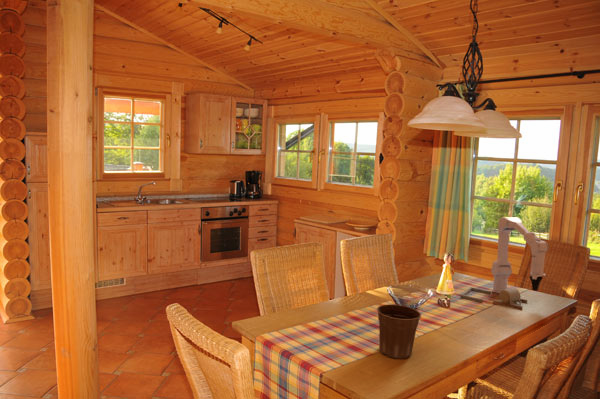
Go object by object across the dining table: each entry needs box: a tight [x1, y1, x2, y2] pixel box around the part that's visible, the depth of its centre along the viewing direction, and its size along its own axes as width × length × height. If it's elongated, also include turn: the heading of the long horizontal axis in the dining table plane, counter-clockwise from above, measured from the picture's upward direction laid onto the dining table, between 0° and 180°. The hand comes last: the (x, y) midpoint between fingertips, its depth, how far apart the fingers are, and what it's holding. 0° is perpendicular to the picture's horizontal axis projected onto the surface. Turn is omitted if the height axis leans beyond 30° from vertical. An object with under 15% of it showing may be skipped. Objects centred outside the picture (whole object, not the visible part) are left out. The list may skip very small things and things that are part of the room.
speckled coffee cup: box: [498, 287, 522, 306], centre depth 236 cm, size 11×8×8 cm
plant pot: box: [376, 303, 422, 360], centre depth 170 cm, size 16×16×16 cm
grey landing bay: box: [460, 286, 493, 303], centre depth 247 cm, size 20×12×2 cm, turn 144°
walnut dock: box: [492, 298, 528, 310], centre depth 237 cm, size 15×14×2 cm
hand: (534, 290), depth 230 cm, fingers closed
